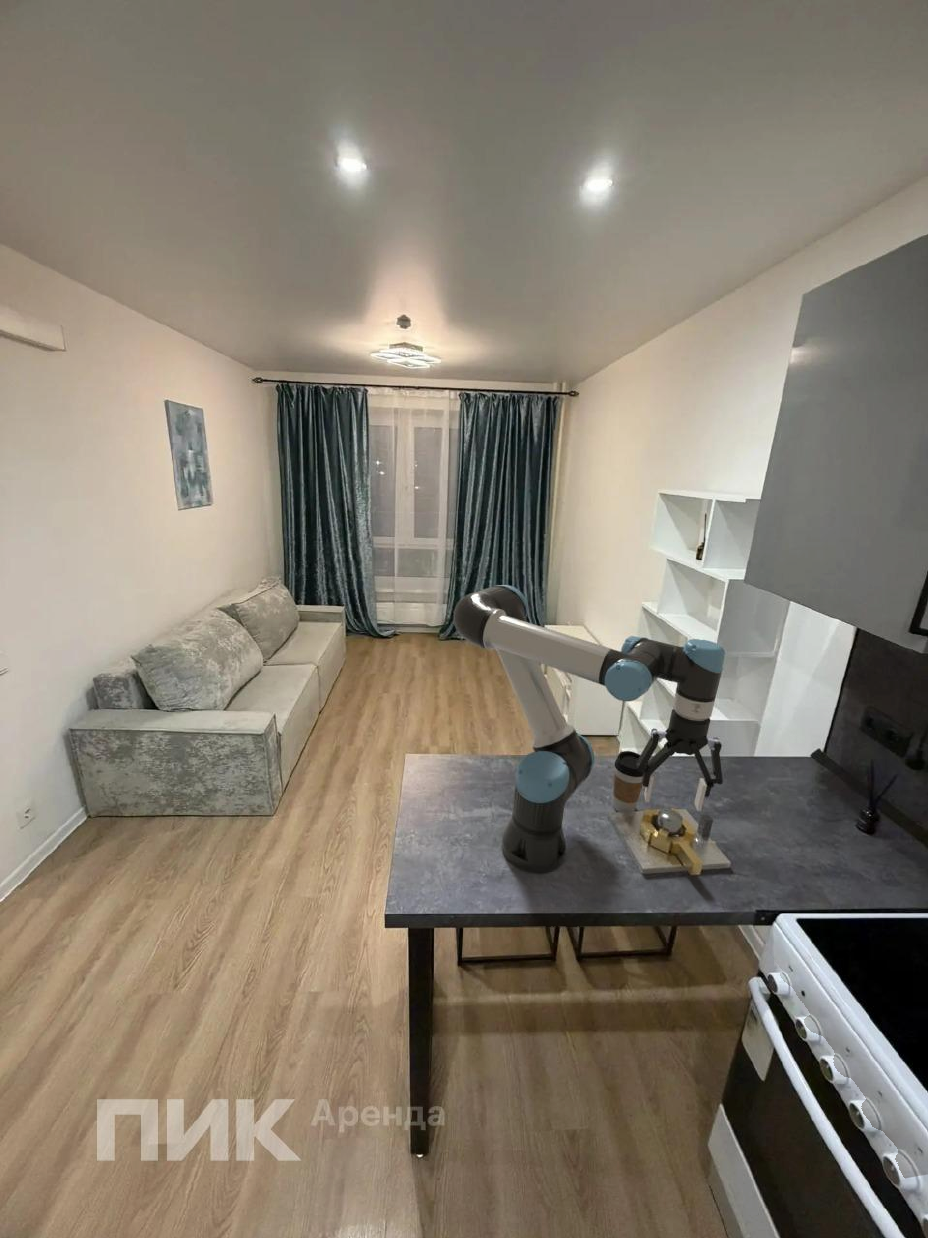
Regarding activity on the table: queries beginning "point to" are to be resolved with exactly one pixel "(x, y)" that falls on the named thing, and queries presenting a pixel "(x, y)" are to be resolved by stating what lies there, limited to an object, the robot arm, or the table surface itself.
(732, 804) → the table surface
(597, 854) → the table surface
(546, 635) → the robot arm
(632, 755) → the coffee cup
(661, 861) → the flange plate
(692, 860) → the brass ball clamp
